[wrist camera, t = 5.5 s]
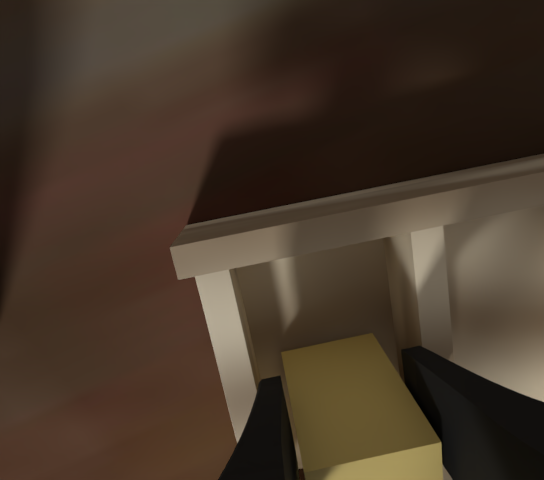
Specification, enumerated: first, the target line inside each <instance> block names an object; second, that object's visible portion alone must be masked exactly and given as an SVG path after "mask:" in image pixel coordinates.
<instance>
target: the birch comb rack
mask: <svg viewBox="0 0 544 480" xmlns="http://www.w3.org/2000/svg"><path fill="white" fill-rule="evenodd" d="M170 251H171V254H172V258H173V262H174V266H175V269H176V273H177V277H178V280H180V279H185V278H190V277H195V278H196V282H197V286H198V290H199V294H200V298H201V302H202V306H203V310H204V314H205V318H206V322H207V326H208V330H209V334H210V338H211V342H212V346H213V349H214V353H215V357H216V361H217V365H218V369H219V373H220V377H221V381H222V385H223V389H224V393H225V397H226V401H227V405H228V409H229V413H230V417H231V421H232V424H233V428H234V432H235V436H236V440H237V443H238V441H239V439H240V437H241V435H242V432H243V430H244V428H245V425H246V423H247V420H248V417H249V415H250V412H251V409H252V406H253V403H254V400H255V397H256V393H257V389H258V384H259V382H260V381H261V379H266V378H270V377H275V376H281V381H282V386H283V390H284V395H285V400H286V405H287V409H288V414H289V419H290V424H291V429H292V434H293V439H294V445H295V450H296V456H297V461H298V469H302V468H303V465H302V459H301V454H300V449H299V444H298V439H297V433H296V428H295V423H294V418H293V412H292V407H291V402H290V397H289V392H288V386H287V381H286V376H285V371H284V366H283V360H282V355H281V352H284V351H289V350H293V349H298V348H303V347H308V346H312V345H317V344H322V343H327V342H331V341H336V340H341V339H345V338H350V337H355V336H360V335H364V334H369V333H373V335H374V336H375V338H376V339H377V341H378V343H379V344H380V346H381V347H382V349H383V350H384V352H385V354H386V355H387V357H388V358H389V360H390V362H391V363H392V365H393V366H394V368H395V369H396V371H397V373H398V374H399V376H400V377H401V379H402V381H403V382H404V384H405V381H404V372H403V364H402V355H401V349H406V348H411V347H415V346H422V347H424V348H426V349H428V350H430V351H432V352H434V353H436V354H438V355H440V356H442V357H443V358H445V359H447V360H449V361H451V362H453V363H455V364H457V365H459V366H461V367H463V368H465V369H467V370H469V371H471V372H473V373H475V374H477V375H479V376H481V377H484V378H486V379H488V380H490V381H492V382H495V383H497V384H499V385H501V386H504V387H506V388H508V389H511V390H513V391H515V392H518V393H521V394H523V395H526V396H528V397H531V398H534V399H537V400H539V401H542V402H544V154H539V155H534V156H529V157H524V158H519V159H514V160H509V161H504V162H499V163H494V164H489V165H484V166H479V167H474V168H469V169H464V170H459V171H454V172H449V173H444V174H439V175H434V176H429V177H424V178H419V179H414V180H409V181H404V182H399V183H395V184H390V185H385V186H380V187H375V188H370V189H365V190H360V191H355V192H350V193H345V194H340V195H335V196H330V197H325V198H320V199H315V200H310V201H305V202H300V203H295V204H290V205H285V206H280V207H275V208H270V209H265V210H260V211H255V212H250V213H245V214H240V215H235V216H230V217H225V218H220V219H215V220H210V221H205V222H200V223H195V224H190V225H186V226H185V228H184V229H183V230H182V232H181V233H180V234H179V236H178V237H177V238H176V240H175V241H174V242H173V244H172V245H171V246H170ZM442 467H443V480H453V479H452V478H451V476H450V475H449V473H448V472H447V470H446V469H445V467H444V466H443V464H442Z"/></svg>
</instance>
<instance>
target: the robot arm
mask: <svg viewBox="0 0 544 480" xmlns="http://www.w3.org/2000/svg"><path fill="white" fill-rule="evenodd" d="M401 355H402V364H403V372H404V381H405V385H406V387H407V388H408V390H409V392H410V393H411V395H412V396H413V398H414V400H415V401H416V403H417V404H418V406H419V407H420V409H421V411H422V412H423V414H424V415H425V417H426V419H427V420H428V422H429V423H430V425H431V426H432V428H433V430H434V431H435V433H436V434H437V436H438V438H439V439H440V441H441V444H442V464H443V466H444V467H445V469H446V470H447V472H448V473H449V475H450V476H451V478H452V479H453V480H544V402H542V401H539V400H537V399H534V398H531V397H528V396H526V395H523V394H521V393H518V392H515V391H513V390H511V389H508V388H506V387H504V386H501V385H499V384H497V383H495V382H492V381H490V380H488V379H486V378H484V377H481V376H479V375H477V374H475V373H473V372H471V371H469V370H467V369H465V368H463V367H461V366H459V365H457V364H455V363H453V362H451V361H449V360H447V359H445V358H443V357H442V356H440V355H438V354H436V353H434V352H432V351H430V350H428V349H426V348H424V347H422V346H415V347H411V348H406V349H401ZM218 480H299V471H298V461H297V456H296V450H295V445H294V439H293V434H292V429H291V424H290V419H289V414H288V409H287V405H286V400H285V395H284V390H283V386H282V381H281V376H275V377H270V378H266V379H261V381H260V382H259V384H258V389H257V393H256V397H255V400H254V403H253V406H252V409H251V412H250V415H249V417H248V420H247V423H246V425H245V428H244V430H243V432H242V435H241V437H240V439H239V441H238V443H237V446H236V448H235V450H234V452H233V454H232V456H231V458H230V460H229V461H228V463H227V465H226V467H225V469H224V470H223V472H222V474H221V476H220V477H219V479H218Z"/></svg>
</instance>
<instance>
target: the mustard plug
mask: <svg viewBox="0 0 544 480" xmlns="http://www.w3.org/2000/svg"><path fill="white" fill-rule="evenodd" d="M281 355H282V360H283V366H284V371H285V376H286V381H287V386H288V392H289V397H290V402H291V407H292V412H293V418H294V423H295V428H296V433H297V439H298V444H299V449H300V454H301V459H302V465H303V470H304V475H305V480H443V467H442V444H441V441H440V439H439V438H438V436H437V434H436V433H435V431H434V430H433V428H432V426H431V425H430V423H429V422H428V420H427V419H426V417H425V415H424V414H423V412H422V411H421V409H420V407H419V406H418V404H417V403H416V401H415V400H414V398H413V396H412V395H411V393H410V392H409V390H408V388H407V387H406V385H405V384H404V382H403V381H402V379H401V377H400V376H399V374H398V373H397V371H396V369H395V368H394V366H393V365H392V363H391V362H390V360H389V358H388V357H387V355H386V354H385V352H384V350H383V349H382V347H381V346H380V344H379V343H378V341H377V339H376V338H375V336H374V335H373V333H369V334H364V335H360V336H355V337H350V338H345V339H341V340H336V341H331V342H327V343H322V344H317V345H312V346H308V347H303V348H298V349H293V350H289V351H284V352H281Z"/></svg>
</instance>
